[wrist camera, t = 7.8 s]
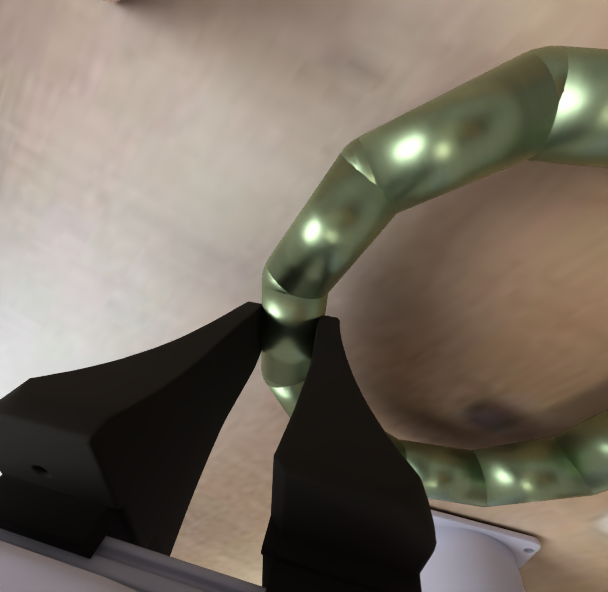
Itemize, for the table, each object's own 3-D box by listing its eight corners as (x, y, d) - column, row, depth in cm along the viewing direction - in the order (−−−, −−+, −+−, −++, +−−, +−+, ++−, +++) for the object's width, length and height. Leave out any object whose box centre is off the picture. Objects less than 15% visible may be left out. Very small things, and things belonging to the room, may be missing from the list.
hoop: (590, 488, 16) (626, 540, 14) (265, 437, 17) (255, 480, 15) (982, 91, 7) (1230, 76, 5) (275, 38, 8) (253, 9, 6)
